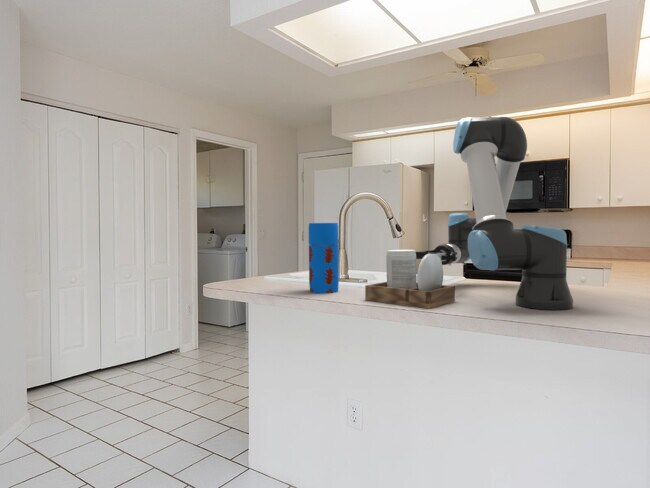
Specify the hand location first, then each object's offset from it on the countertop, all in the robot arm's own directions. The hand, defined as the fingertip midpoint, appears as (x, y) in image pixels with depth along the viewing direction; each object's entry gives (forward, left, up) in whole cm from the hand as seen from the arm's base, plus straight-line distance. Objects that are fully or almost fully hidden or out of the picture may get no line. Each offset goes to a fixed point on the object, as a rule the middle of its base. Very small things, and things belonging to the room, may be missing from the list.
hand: (417, 257), depth 152 cm
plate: (-11, +11, -12) cm, 19 cm away
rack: (-4, +11, -13) cm, 17 cm away
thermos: (+31, +13, -13) cm, 36 cm away
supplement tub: (0, +10, -12) cm, 15 cm away
